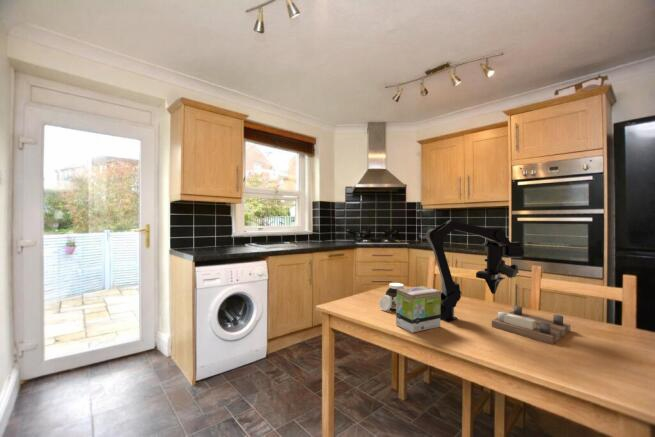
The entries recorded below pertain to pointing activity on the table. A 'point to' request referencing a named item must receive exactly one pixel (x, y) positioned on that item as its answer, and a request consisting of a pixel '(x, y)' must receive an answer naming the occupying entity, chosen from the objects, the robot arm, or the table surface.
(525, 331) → the slatted wooden base
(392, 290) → the spread jar
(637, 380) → the table surface
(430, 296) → the tea box
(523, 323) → the white rectangular block
